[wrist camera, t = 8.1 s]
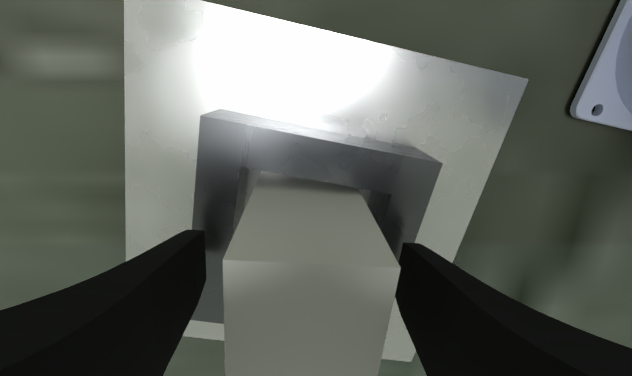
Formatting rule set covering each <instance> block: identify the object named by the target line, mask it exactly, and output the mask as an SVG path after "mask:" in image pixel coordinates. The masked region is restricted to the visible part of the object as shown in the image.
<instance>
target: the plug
mask: <svg viewBox="0 0 632 376" xmlns="http://www.w3.org/2000/svg"><path fill="white" fill-rule="evenodd" d="M400 270H401V267H400V265H399V264H398V262H397V260H396V258H395V256H394V254H393V252H392V251H391V249H390V247H389V245H388V243H387V241H386V239H385V238H384V236H383V234H382V232H381V230H380V228H379V226H378V224H377V223H376V221H375V219H374V217H373V215H372V213H371V211H370V210H369V208H368V206H367V204H366V202H365V200H364V198H363V197H362V195H361V193H360V191H359V189H358V188H355V187H349V186H344V185H338V184H332V183H327V182H321V181H316V180H310V179H305V178H299V177H294V176H288V175H283V174H277V173H272V172H266V171H261V173H260V176H259V178H258V180H257V183H256V185H255V187H254V189H253V192H252V194H251V196H250V199H249V201H248V203H247V205H246V208H245V210H244V212H243V214H242V217H241V219H240V221H239V224H238V226H237V228H236V230H235V233H234V235H233V237H232V240H231V242H230V244H229V246H228V249H227V251H226V253H225V255H224V258H223V299H224V343H225V376H378V372H379V367H380V363H381V358H382V353H383V349H384V344H385V339H386V335H387V330H388V325H389V321H390V316H391V311H392V307H393V302H394V297H395V293H396V288H397V284H398V279H399V274H400Z"/></svg>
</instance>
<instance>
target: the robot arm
mask: <svg viewBox="0 0 632 376" xmlns="http://www.w3.org/2000/svg"><path fill="white" fill-rule="evenodd" d="M594 106H595V110H594V112H593V113H591V112H592V109H593V107H594ZM570 114H571V115H572V117H574V118H577V119H581V120H586V121H590V122H594V123H599V124H603V125H608V126H612V127H616V128H621V129H625V130H629V131H632V0H621V1H620V3H619V5H618V7H617V9H616V11H615V13H614V15H613V18H612V20H611V22H610V24H609V26H608V28H607V30H606V32H605V34H604V37H603V39H602V41H601V43H600V45H599V47H598V49H597V51H596V53H595V56H594V58H593V60H592V62H591V64H590V66H589V68H588V70H587V72H586V75H585V77H584V79H583V81H582V83H581V85H580V87H579V89H578V91H577V94H576V96H575V98H574V100H573V102H572V104H571V107H570ZM398 264H399V265H400V267H401V270H400V274H399V279H398V284H397V288H396V293H395V298H396V301H397V305H398V308H399V311H400V314H401V317H402V319H403V322H404V324H405V326H406V329H407V331H408V333H409V335H410V338H411V340H412V342H413V345H414V347H415V349H416V351H417V354H418V356H419V358H420V361H421V363H422V365H423V367H424V370H425V372H426V375H427V376H632V349H631V348H628V347H626V346H623V345H620V344H617V343H614V342H612V341H609V340H606V339H603V338H601V337H598V336H595V335H593V334H590V333H588V332H585V331H583V330H580V329H577V328H575V327H573V326H570V325H568V324H566V323H563V322H561V321H559V320H556V319H554V318H552V317H549V316H547V315H545V314H543V313H540V312H538V311H536V310H534V309H532V308H530V307H528V306H526V305H524V304H522V303H520V302H518V301H516V300H514V299H512V298H510V297H508V296H506V295H504V294H502V293H501V292H499V291H497V290H495V289H494V288H492V287H490V286H488V285H487V284H485V283H483V282H481V281H480V280H478V279H476V278H475V277H473V276H471V275H470V274H468V273H467V272H465V271H463V270H462V269H460V268H459V267H457V266H456V265H454V264H453V263H451V262H449V261H448V260H446V259H445V258H443V257H442V256H440V255H439V254H437V253H435V252H434V251H432V250H431V249H429V248H427V247H425V246H424V245H422V244H419V243H406V242H403V245H402V249H401V254H400V258H399V263H398ZM205 282H206V252H205V230H188V229H187V230H185V231H182V232H180V233H178V234H176V235H175V236H173V237H171V238H169V239H167V240H166V241H164V242H162V243H160V244H158V245H157V246H155V247H153V248H151V249H149V250H147V251H146V252H144V253H142V254H140V255H138V256H136V257H134V258H132V259H130V260H128V261H126V262H124V263H122V264H120V265H118V266H116V267H114V268H112V269H110V270H108V271H106V272H104V273H101V274H99V275H97V276H95V277H92V278H90V279H88V280H85V281H83V282H80V283H78V284H75V285H73V286H70V287H68V288H65V289H63V290H60V291H57V292H54V293H51V294H48V295H46V296H43V297H40V298H37V299H34V300H31V301H28V302H25V303H22V304H20V305H17V306H13V307H10V308H7V309H4V310H0V376H163V374H164V372H165V370H166V368H167V365H168V363H169V361H170V359H171V357H172V355H173V353H174V351H175V349H176V347H177V345H178V344H179V342H180V340H181V338H182V336H183V334H184V332H185V330H186V328H187V326H188V324H189V322H190V320H191V317H192V315H193V313H194V311H195V309H196V307H197V305H198V303H199V300H200V297H201V294H202V291H203V288H204V285H205Z"/></svg>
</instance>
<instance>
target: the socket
mask: <svg viewBox="0 0 632 376" xmlns="http://www.w3.org/2000/svg"><path fill="white" fill-rule="evenodd" d="M124 69H125V202H126V261H128V260H130V259H132V258H134V257H136V256H138V255H140V254H142V253H144V252H146V251H147V250H149V249H151V248H153V247H155V246H157V245H158V244H160V243H162V242H164V241H166V240H167V239H169V238H171V237H173V236H175V235H176V234H178V233H180V232H182V231H185V230H187V229H188V230H205V252H206V282H205V285H204V288H203V291H202V294H201V297H200V300H199V303H198V305H197V307H196V309H195V311H194V313H193V315H192V317H191V320H190V322H189V324H188V326H187V328H186V330H185V332H184V334H183V336H188V337H196V338H205V339H214V340H223V341H224V299H223V258H224V255H225V253H226V251H227V249H228V246H229V244H230V242H231V240H232V237H233V235H234V233H235V230H236V228H237V226H238V224H239V221H240V219H241V217H242V214H243V212H244V210H245V208H246V205H247V203H248V201H249V199H250V196H251V194H252V192H253V189H254V187H255V185H256V183H257V180H258V178H259V176H260V173H261V171H266V172H272V173H277V174H283V175H288V176H294V177H299V178H305V179H310V180H316V181H321V182H327V183H332V184H338V185H344V186H349V187H355V188H358V189H359V191H360V193H361V195H362V197H363V198H364V200H365V202H366V204H367V206H368V208H369V210H370V211H371V213H372V215H373V217H374V219H375V221H376V223H377V224H378V226H379V228H380V230H381V232H382V234H383V236H384V238H385V239H386V241H387V243H388V245H389V247H390V249H391V251H392V252H393V254H394V256H395V258H396V260H397V262H398V263H399V258H400V254H401V249H402V245H403V242H406V243H419V244H422V245H424V246H425V247H427V248H429V249H431V250H432V251H434V252H435V253H437V254H439V255H440V256H442V257H443V258H445V259H446V260H448V261H449V262H451V263H453V260H454V258H455V255H456V253H457V251H458V248H459V246H460V243H461V241H462V239H463V236H464V234H465V231H466V229H467V227H468V224H469V222H470V219H471V217H472V215H473V212H474V210H475V207H476V205H477V203H478V200H479V198H480V195H481V193H482V191H483V188H484V186H485V183H486V181H487V179H488V176H489V174H490V171H491V169H492V167H493V164H494V162H495V159H496V157H497V155H498V152H499V150H500V147H501V145H502V143H503V140H504V138H505V135H506V133H507V131H508V128H509V126H510V123H511V121H512V119H513V116H514V114H515V111H516V109H517V107H518V104H519V102H520V99H521V97H522V95H523V92H524V90H525V87H526V85H527V82H528V80H529V79H526V78H521V77H517V76H513V75H509V74H505V73H501V72H497V71H492V70H488V69H484V68H480V67H476V66H472V65H467V64H463V63H459V62H455V61H451V60H447V59H442V58H438V57H434V56H430V55H426V54H422V53H417V52H413V51H409V50H405V49H401V48H397V47H393V46H388V45H384V44H380V43H376V42H372V41H368V40H363V39H359V38H355V37H351V36H347V35H343V34H338V33H334V32H330V31H326V30H322V29H318V28H313V27H309V26H305V25H301V24H297V23H293V22H289V21H284V20H280V19H276V18H272V17H268V16H264V15H259V14H255V13H251V12H247V11H243V10H239V9H234V8H230V7H226V6H222V5H218V4H214V3H209V2H205V1H201V0H124ZM415 351H416V349H415V347H414V345H413V342H412V340H411V338H410V335H409V333H408V331H407V329H406V326H405V324H404V322H403V319H402V317H401V314H400V311H399V308H398V305H397V301H396V298H395V297H394V302H393V307H392V311H391V316H390V321H389V325H388V330H387V335H386V339H385V344H384V349H383V353H382V358H381V359H389V360H398V361H407V362H411V361H412V359H413V356H414V354H415Z"/></svg>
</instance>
